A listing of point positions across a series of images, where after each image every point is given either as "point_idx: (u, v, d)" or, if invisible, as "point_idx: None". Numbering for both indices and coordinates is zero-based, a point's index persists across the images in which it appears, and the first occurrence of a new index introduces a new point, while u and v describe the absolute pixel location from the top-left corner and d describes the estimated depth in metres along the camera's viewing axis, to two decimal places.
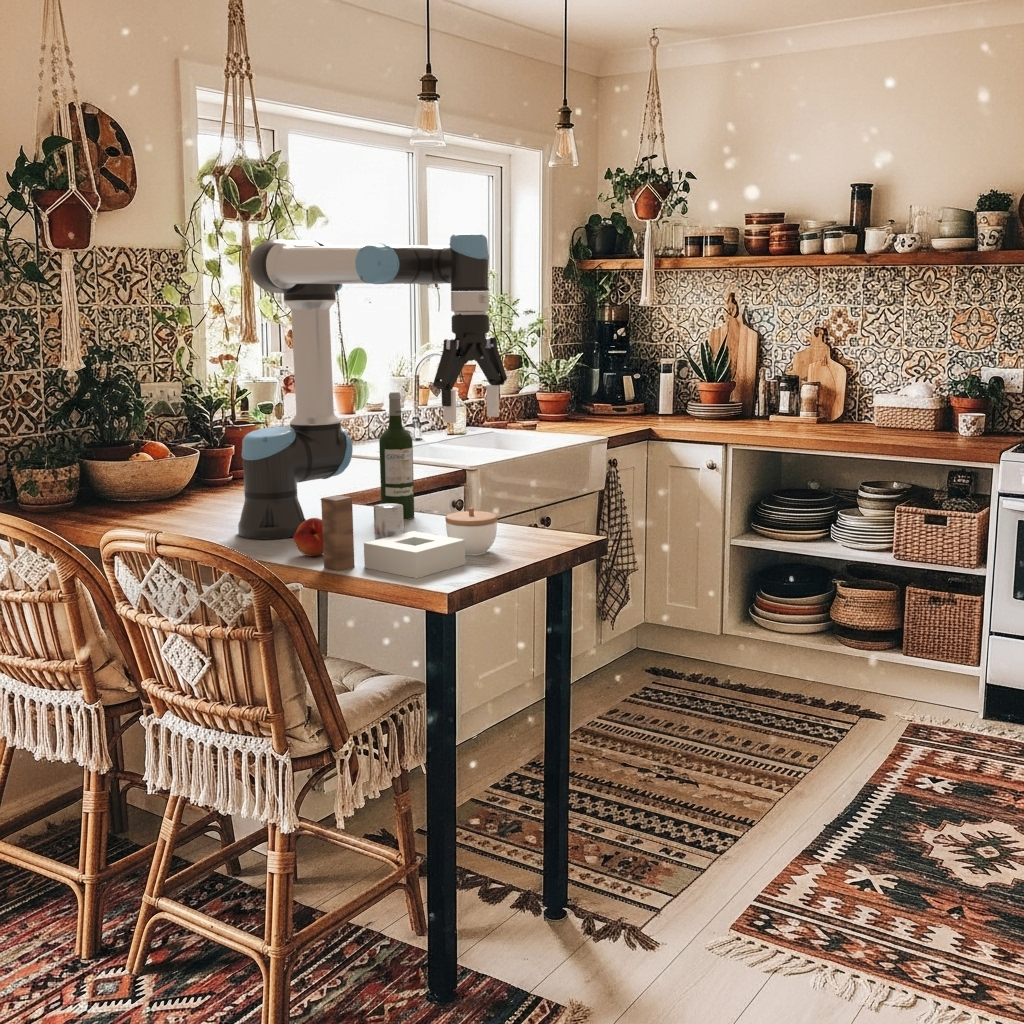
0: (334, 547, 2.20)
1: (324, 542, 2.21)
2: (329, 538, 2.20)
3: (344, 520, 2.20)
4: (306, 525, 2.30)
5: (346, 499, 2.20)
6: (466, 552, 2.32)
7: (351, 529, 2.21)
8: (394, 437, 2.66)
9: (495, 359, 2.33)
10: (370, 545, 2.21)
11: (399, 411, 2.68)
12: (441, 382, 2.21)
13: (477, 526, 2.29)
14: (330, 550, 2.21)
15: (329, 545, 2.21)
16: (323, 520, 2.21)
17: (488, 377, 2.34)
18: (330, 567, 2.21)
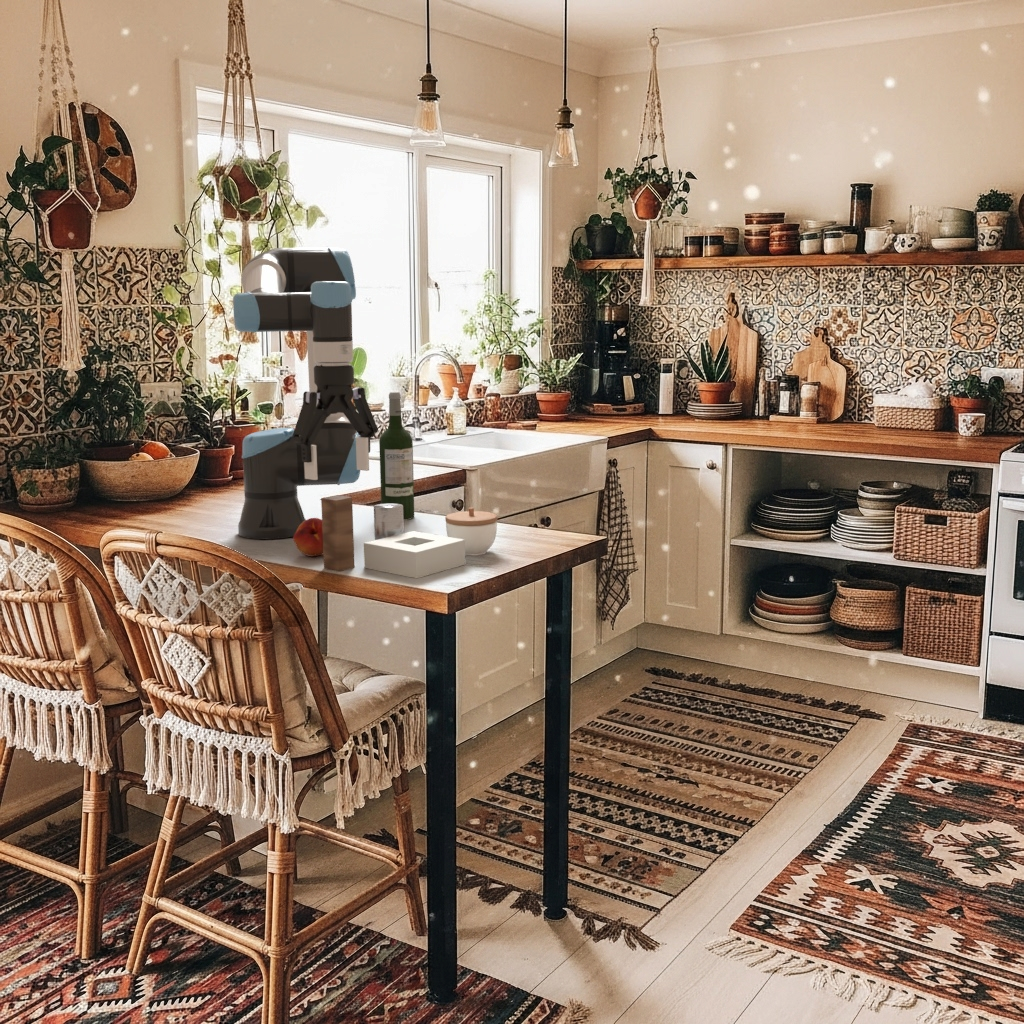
0: (334, 547, 2.20)
1: (324, 542, 2.21)
2: (329, 538, 2.20)
3: (344, 520, 2.20)
4: (306, 525, 2.30)
5: (346, 499, 2.19)
6: (466, 552, 2.32)
7: (351, 529, 2.21)
8: (394, 437, 2.66)
9: (364, 410, 2.22)
10: (370, 545, 2.21)
11: (399, 411, 2.68)
12: (299, 438, 2.10)
13: (477, 526, 2.29)
14: (330, 550, 2.21)
15: (329, 545, 2.21)
16: (323, 520, 2.21)
17: (357, 429, 2.23)
18: (330, 567, 2.21)
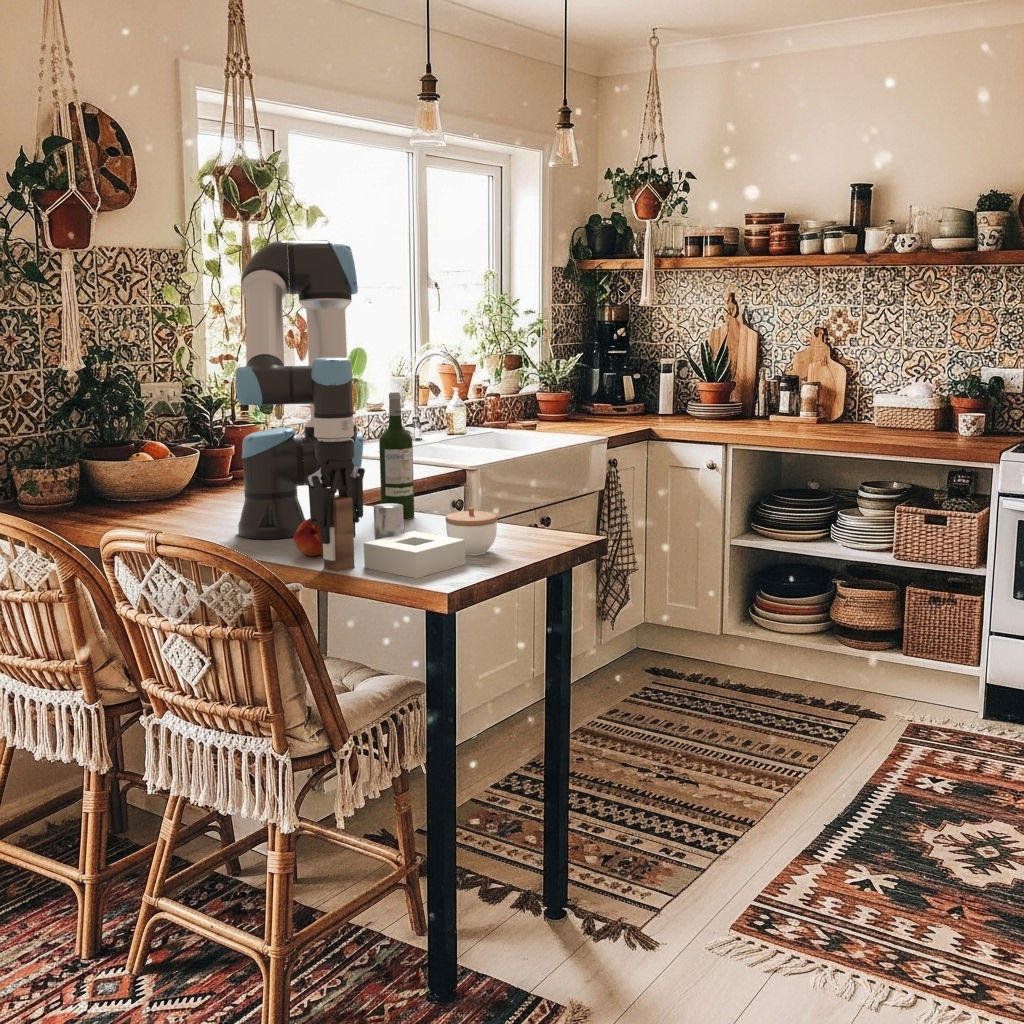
0: None
1: None
2: None
3: (344, 520, 2.20)
4: (306, 525, 2.30)
5: (346, 499, 2.20)
6: (466, 552, 2.32)
7: (351, 529, 2.21)
8: (394, 437, 2.66)
9: (357, 491, 2.23)
10: (370, 545, 2.21)
11: (399, 411, 2.68)
12: (318, 521, 2.16)
13: (477, 526, 2.29)
14: None
15: None
16: None
17: None
18: (330, 567, 2.21)
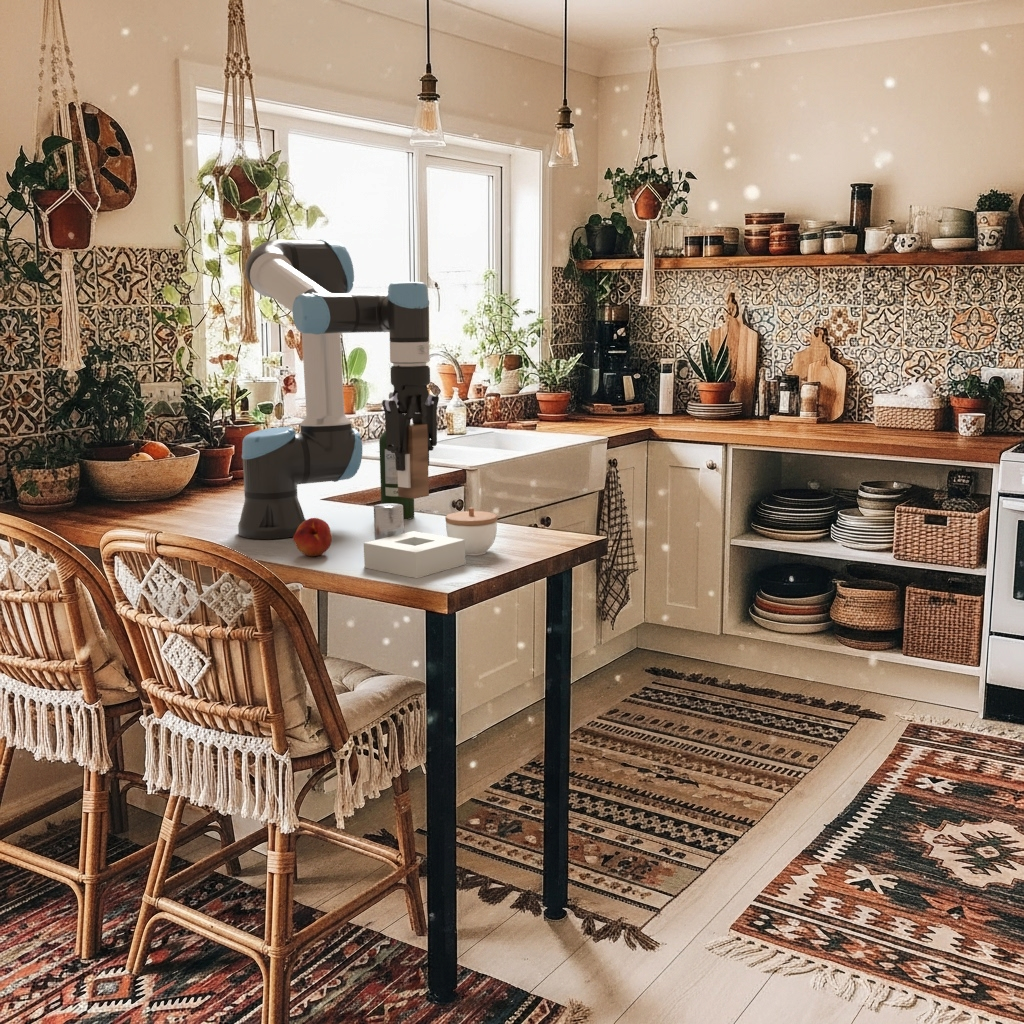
0: None
1: None
2: None
3: (419, 447, 2.18)
4: (306, 525, 2.30)
5: (421, 426, 2.18)
6: (466, 552, 2.32)
7: (426, 457, 2.20)
8: None
9: (431, 418, 2.21)
10: (370, 545, 2.21)
11: None
12: (394, 447, 2.14)
13: (477, 526, 2.29)
14: None
15: None
16: None
17: None
18: (405, 495, 2.20)
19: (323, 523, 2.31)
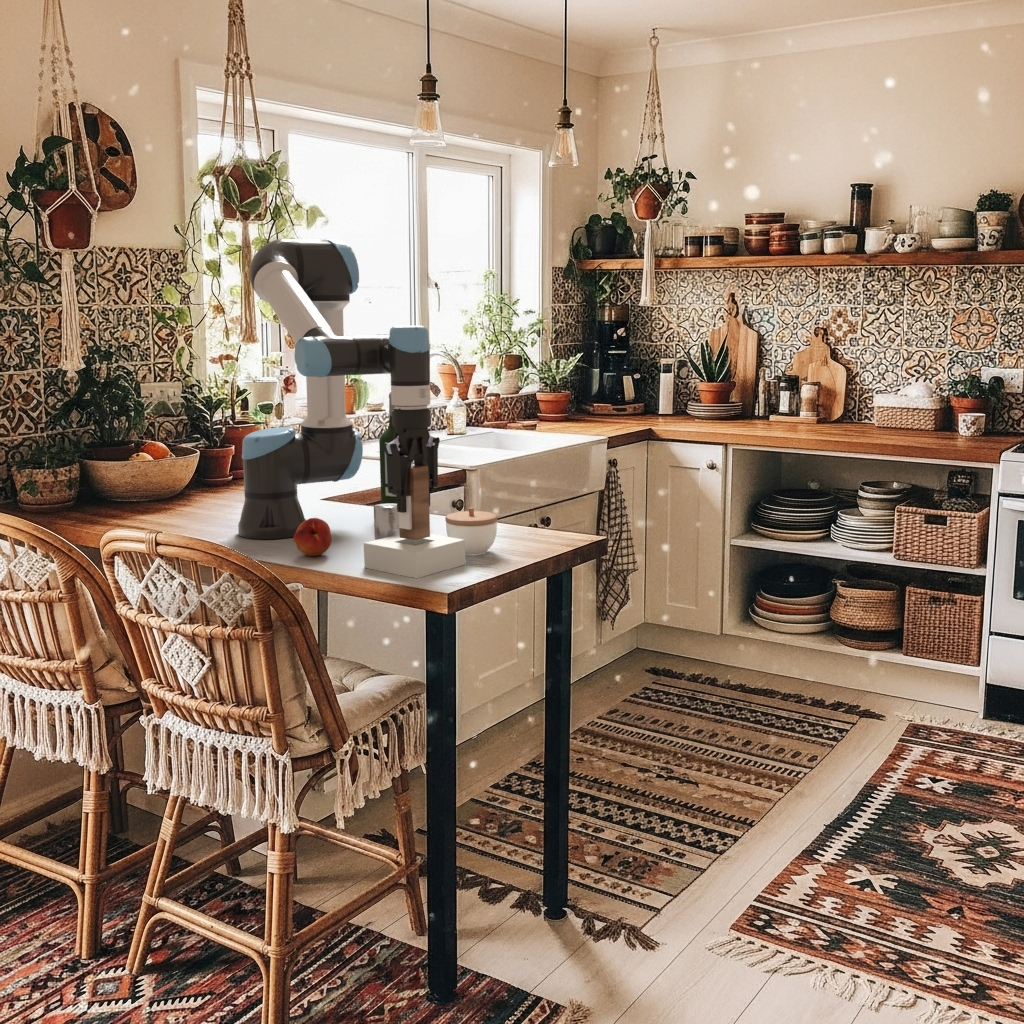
0: None
1: None
2: None
3: (421, 489, 2.19)
4: (306, 525, 2.30)
5: (423, 468, 2.19)
6: (466, 552, 2.32)
7: (427, 498, 2.21)
8: None
9: (432, 460, 2.23)
10: (370, 545, 2.21)
11: None
12: (395, 489, 2.16)
13: (477, 526, 2.29)
14: None
15: None
16: None
17: None
18: (406, 536, 2.21)
19: (323, 523, 2.31)
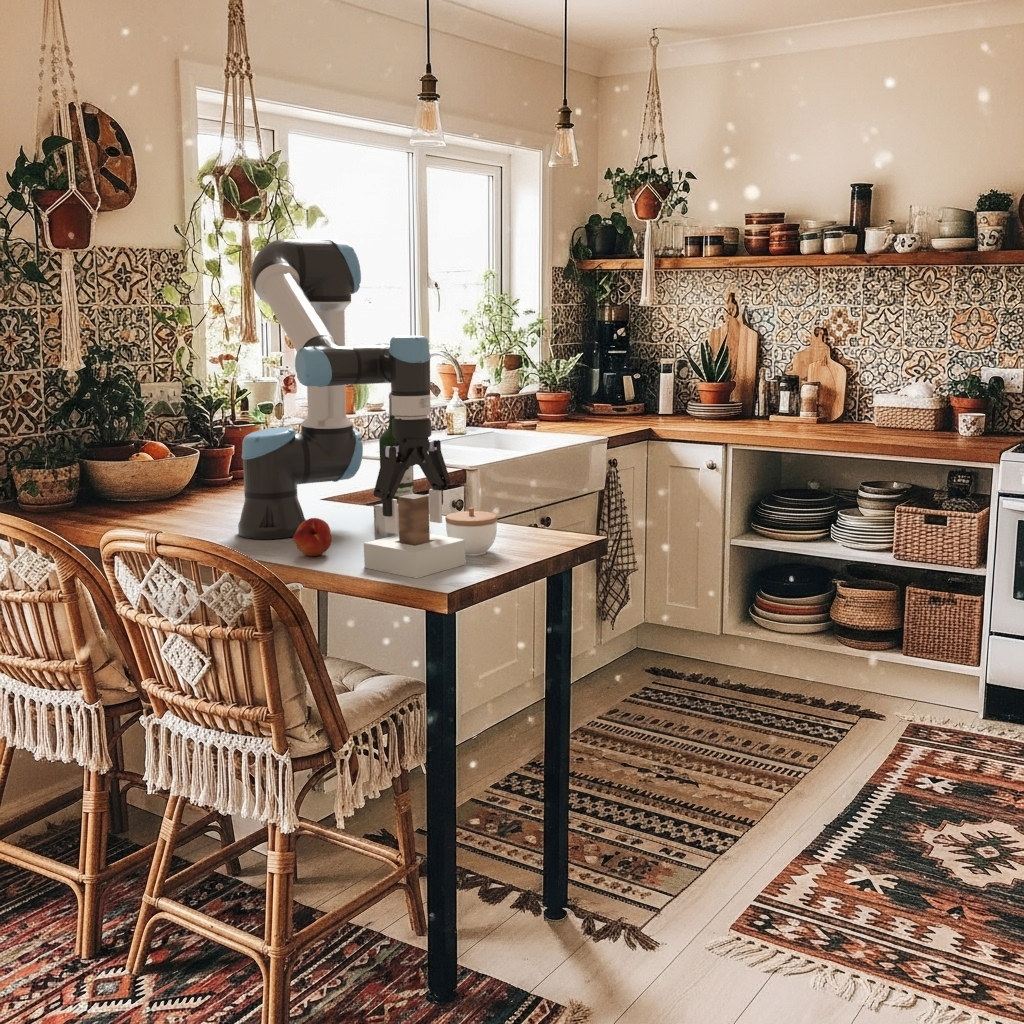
0: None
1: (400, 541, 2.22)
2: (406, 537, 2.21)
3: (421, 519, 2.21)
4: (306, 525, 2.30)
5: (423, 498, 2.20)
6: (466, 552, 2.32)
7: (427, 527, 2.22)
8: None
9: (438, 463, 2.25)
10: (370, 545, 2.21)
11: None
12: (381, 493, 2.13)
13: (477, 526, 2.29)
14: None
15: (406, 543, 2.21)
16: (400, 518, 2.21)
17: (431, 481, 2.25)
18: None
19: (323, 523, 2.31)
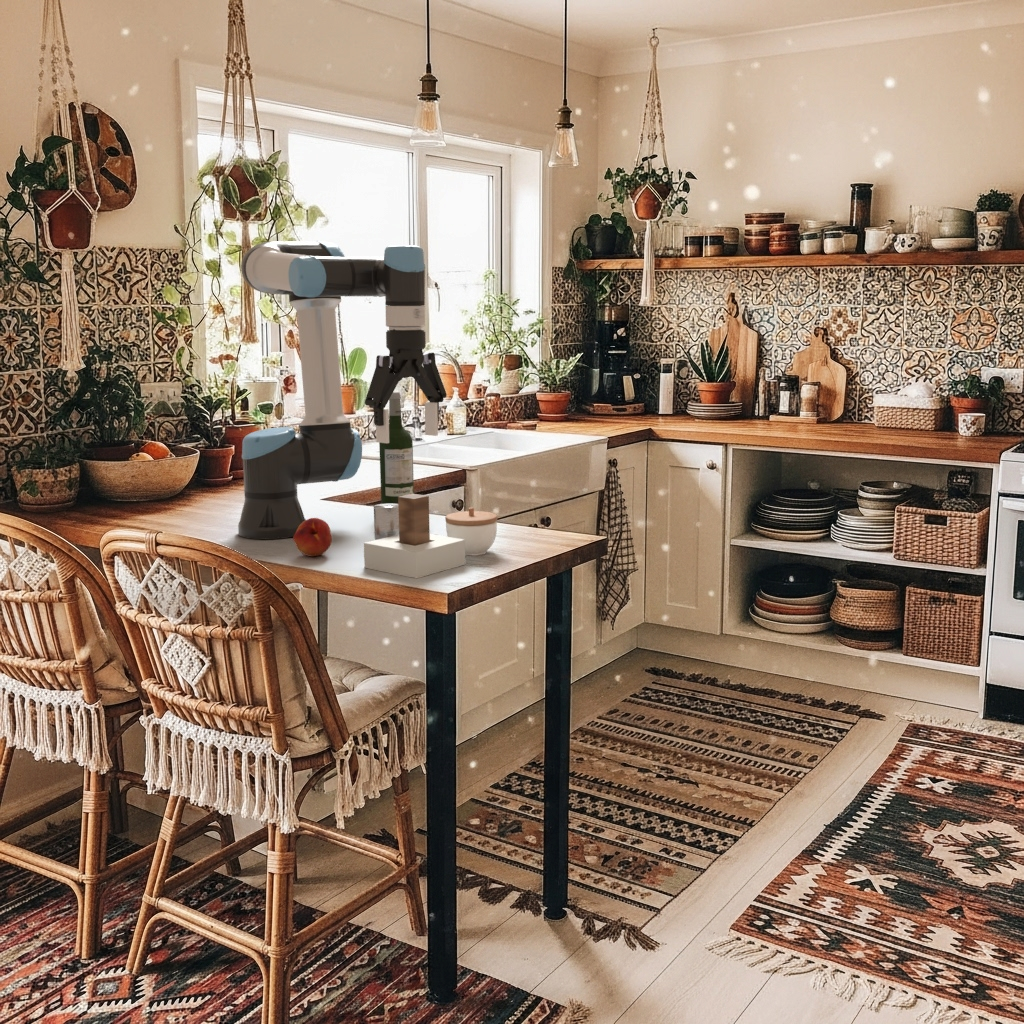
0: None
1: (400, 541, 2.22)
2: (406, 537, 2.21)
3: (421, 519, 2.21)
4: (306, 525, 2.30)
5: (423, 498, 2.20)
6: (466, 552, 2.32)
7: (427, 527, 2.22)
8: (394, 437, 2.66)
9: (433, 375, 2.23)
10: (370, 545, 2.21)
11: (399, 411, 2.68)
12: (372, 401, 2.11)
13: (477, 526, 2.29)
14: None
15: (406, 543, 2.21)
16: (400, 518, 2.21)
17: (426, 394, 2.24)
18: None
19: (323, 523, 2.31)
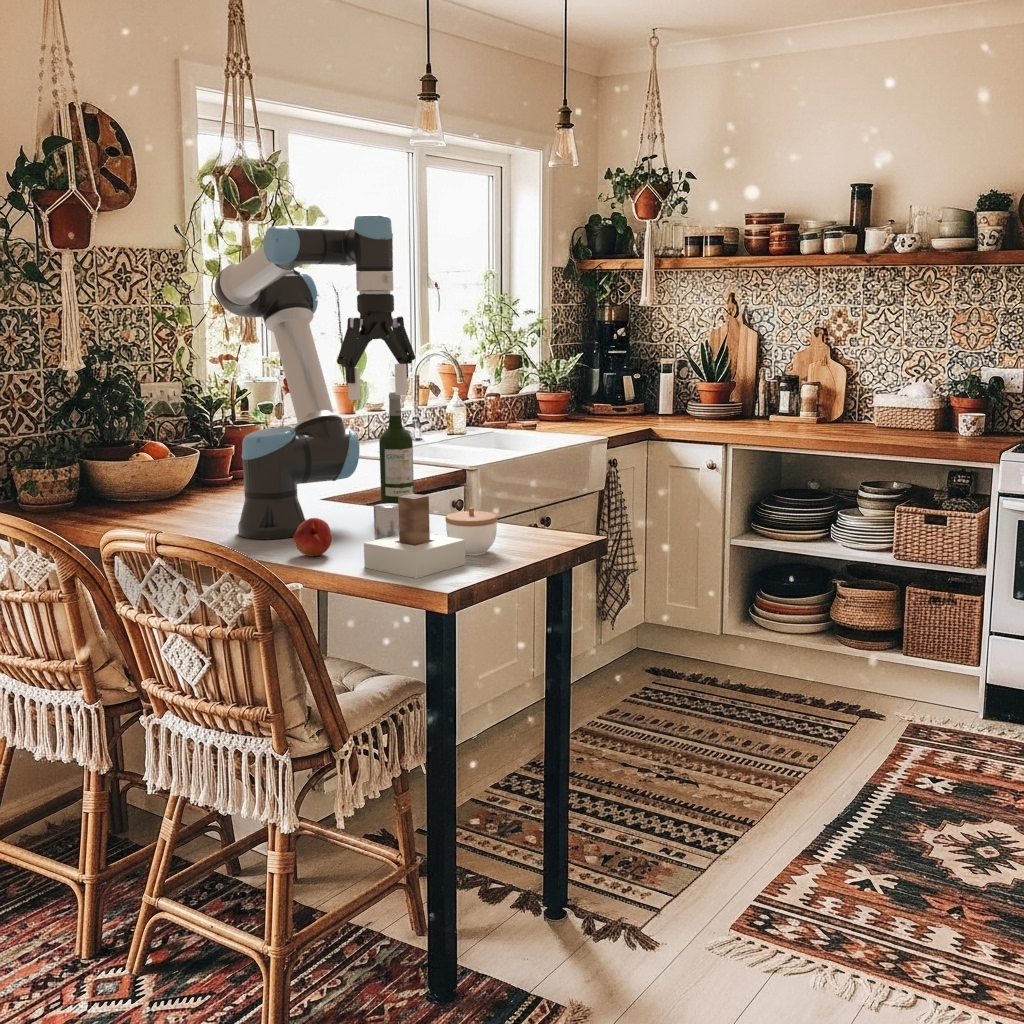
0: None
1: (400, 541, 2.22)
2: (406, 537, 2.21)
3: (421, 519, 2.21)
4: (306, 525, 2.30)
5: (423, 498, 2.20)
6: (466, 552, 2.32)
7: (427, 527, 2.22)
8: (394, 437, 2.66)
9: (402, 338, 2.38)
10: (370, 545, 2.21)
11: (399, 411, 2.68)
12: (344, 359, 2.26)
13: (477, 526, 2.29)
14: None
15: (406, 543, 2.21)
16: (400, 518, 2.21)
17: (396, 356, 2.39)
18: None
19: (323, 523, 2.31)
